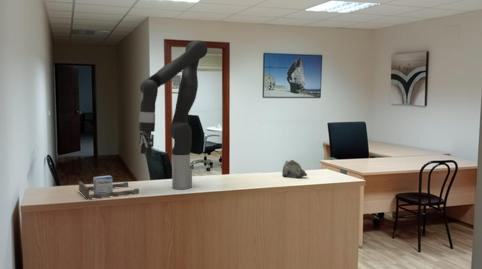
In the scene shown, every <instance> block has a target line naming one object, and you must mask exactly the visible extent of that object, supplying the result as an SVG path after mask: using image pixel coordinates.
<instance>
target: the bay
mask: <svg viewBox="0 0 482 269" xmlns="http://www.w3.org/2000/svg"><path fill="white" fill-rule="evenodd" d="M112 184H113V189H116V188H115V187H123V188H129V182H128V181H126V182H125V181H124V182H123V183H112ZM89 190H94V185H92V186H86V185H85V184H84V183H83V182H82V181H78V192H79V191H80V192H81V193H82V194H83V195H84V196H85V197H84V196H83V195H82V194H81V193H80V192H79V193H80V194H81V195H82V196H83V197H84V198H85V199H86V200H87V199H90V200H93V199H92V198H99V199H103V198H102V197H107V198H111V197H110V196H116V197H119V196H118V195H124V196H130V195H129V194H133V195H139V194H140V189H139V188H134V189H129V190H121V191H120V190H119V191H113V192H109V193H101V194H94V193H92V194H90V191H89Z"/></svg>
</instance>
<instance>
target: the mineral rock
mask: <svg viewBox="0 0 482 269" xmlns="http://www.w3.org/2000/svg"><path fill="white" fill-rule="evenodd" d="M281 172H282V173H281V176H282V177H285V178H303V177H307V176H308V173H307V172H306V171H305V170H304V169H303V168H302V166H301V164H300V163H298V162H297V161H296V160H293V159H291V160H286V161H284V164H283V167H282V170H281Z"/></svg>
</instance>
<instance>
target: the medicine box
mask: <svg viewBox="0 0 482 269" xmlns="http://www.w3.org/2000/svg"><path fill="white" fill-rule="evenodd" d="M92 178H93V180H92V181H93V185H92V186H94V191H93V194H101V193H109V192H114V191H113V189H114V188H113V184H114V183H113V176H111V175H110V174H109V175H101V176H93V177H92Z"/></svg>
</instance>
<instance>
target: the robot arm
mask: <svg viewBox="0 0 482 269" xmlns="http://www.w3.org/2000/svg"><path fill="white" fill-rule="evenodd" d="M207 53H208V46H207V43H206V42H205V41H203V40H198V39H197V40H193V41H190V42H189V43H188V44H187V45H186V47H185V51H184V52H183V53H182V54H181V55H179V56H178V57H176V58H175V59H172V60H171V61H170V62H168V63H167V64H165V65H164V66H162V67H161V68H160V69H158V70H157V72H155V73H154V74H152V75H151V76H149V77H148V78H145V80H143V81H142V82H141V84H140V86H139V89H140V92H141V93H142V94H143V96H142V99H141V101H140V108H139V110H140V113H139V119H138V121H139V124H138V131H140V132H139V141H138V144H139V145H140V154H141V155H142V154H143V155H144V154H145V156H147V157H149V156H150V157H151V156H152V148H154V144H155V143H154V137H155V136H154V134H152V132H153V133H154V132H156V131H155V129H156V126H155V125H156V101H157V98H158V92H159V89H158V88H160V87H161V86H163V85H165V84H167V83H168V82H169V81H171V80H172V79H174V78H175V77H176V76H178V74H180V72H182V73H181V78H180V83H179V86H178V91H177V98H176V101H175V102H176V103H175V108H174V112H173V117H172V121H171V122H170V127H169V135H170V137H171V138H172V139H173V141H174V142H173V148H171V175H172V176H171V178H172V180H171V181H172V182H171V186H172V189H173V190H174V189H175V190H186V189H190V188H193V169H192V168H191V149H192V142H193V141H192V139H193V134H192V133H193V132H192V128H191V126H190V125H189V124H188V123H187V122H188V116H189V114H190V111H191V108H192V107H193V105H194V103H195V100H196V99H197V98H196V97H197V93H198V87H199V82H198V66H199V63H200V60H201V59H203V58H204V57H206V55H207Z"/></svg>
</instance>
